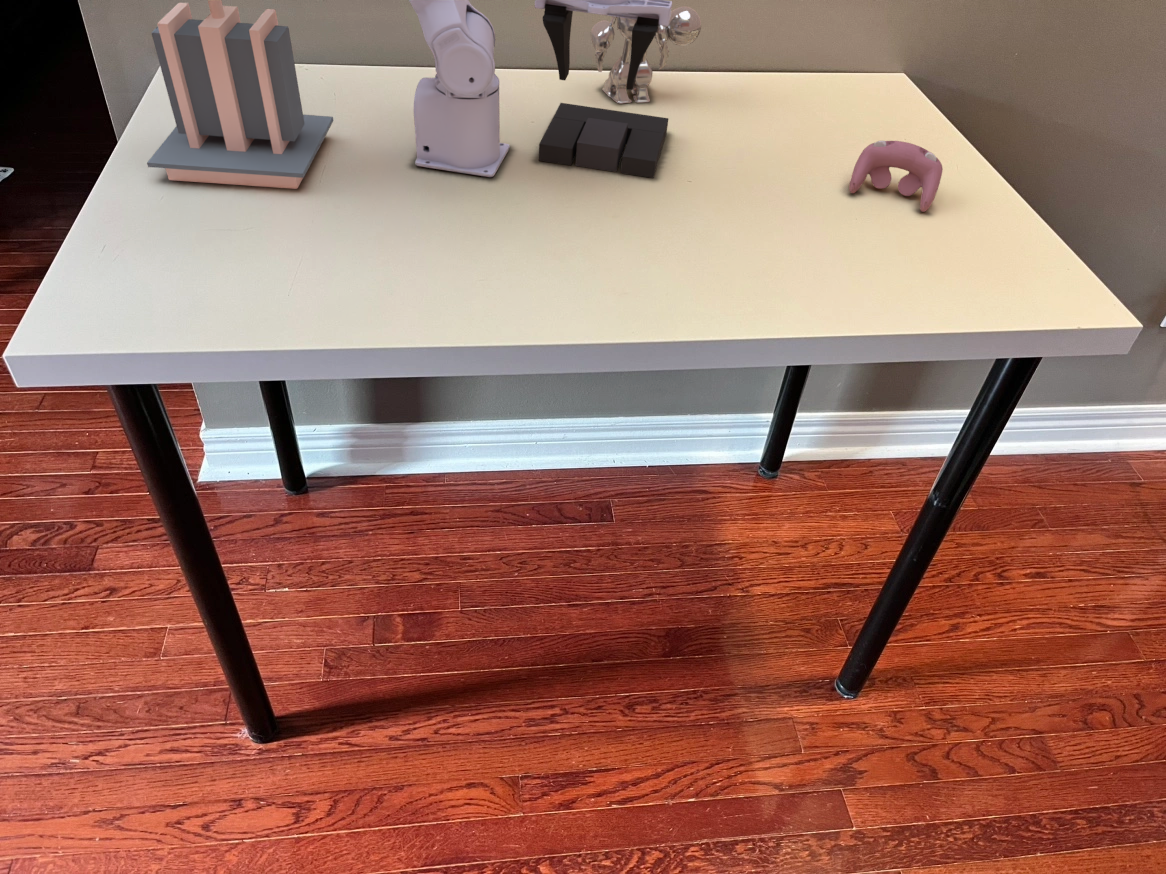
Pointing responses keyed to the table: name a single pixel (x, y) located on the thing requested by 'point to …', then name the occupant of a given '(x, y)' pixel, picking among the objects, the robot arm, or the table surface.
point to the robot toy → (678, 31)
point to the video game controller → (904, 156)
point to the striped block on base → (233, 101)
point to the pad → (601, 144)
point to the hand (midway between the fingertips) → (597, 81)
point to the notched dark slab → (641, 132)
